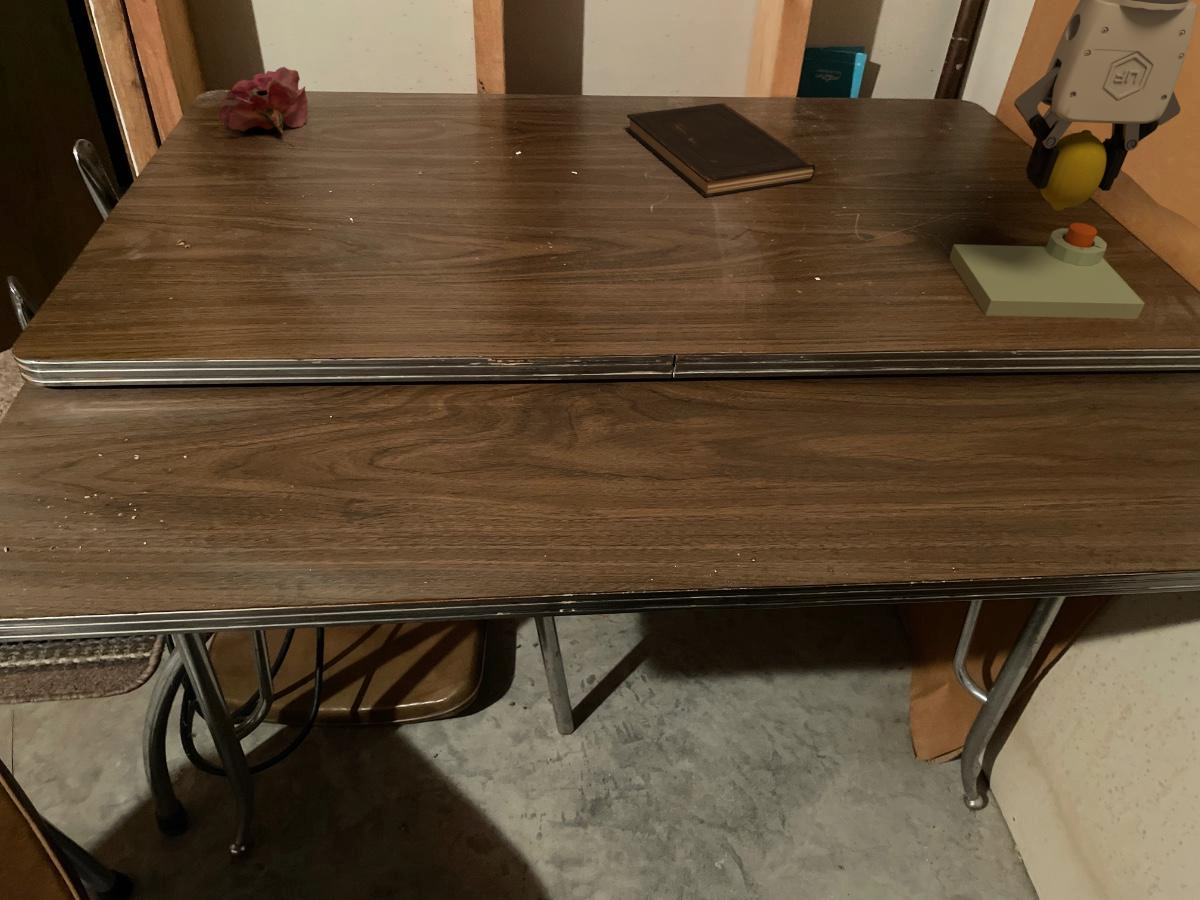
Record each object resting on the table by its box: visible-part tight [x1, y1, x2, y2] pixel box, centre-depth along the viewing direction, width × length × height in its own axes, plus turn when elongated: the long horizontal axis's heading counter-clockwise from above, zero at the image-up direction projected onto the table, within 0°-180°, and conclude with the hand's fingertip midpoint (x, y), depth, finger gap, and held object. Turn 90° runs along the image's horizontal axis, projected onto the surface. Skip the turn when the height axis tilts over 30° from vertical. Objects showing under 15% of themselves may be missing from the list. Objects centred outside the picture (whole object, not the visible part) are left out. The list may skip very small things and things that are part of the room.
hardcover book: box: [625, 102, 816, 198], centre depth 122 cm, size 16×23×2 cm
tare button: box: [1064, 222, 1098, 248], centre depth 100 cm, size 3×3×2 cm
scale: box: [948, 227, 1145, 320], centre depth 98 cm, size 16×13×4 cm
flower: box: [218, 66, 309, 147], centre depth 120 cm, size 11×10×10 cm
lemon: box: [1039, 129, 1106, 212], centre depth 88 cm, size 6×6×8 cm
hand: (1067, 182), depth 89 cm, fingers closed on lemon, 5 cm apart
